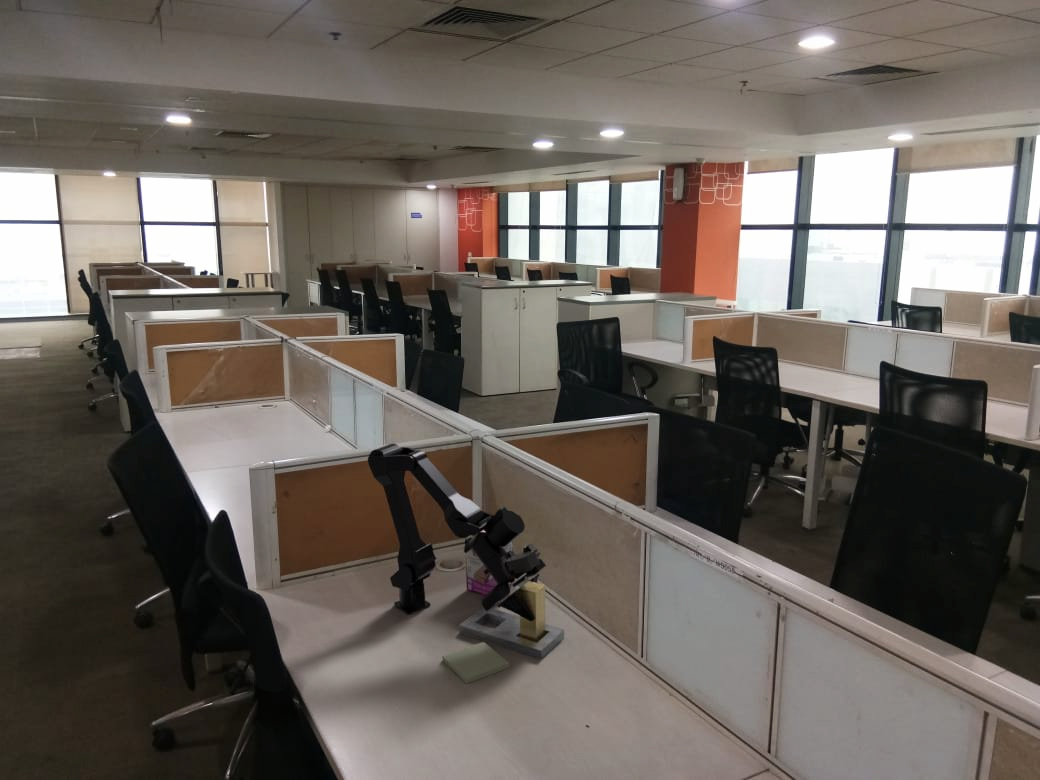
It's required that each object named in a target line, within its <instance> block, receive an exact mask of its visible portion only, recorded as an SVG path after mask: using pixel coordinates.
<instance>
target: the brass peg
mask: <svg viewBox="0 0 1040 780" xmlns="http://www.w3.org/2000/svg"><path fill="white" fill-rule="evenodd" d="M519 588H520V587H519ZM520 589H521V597H522V599H523V600H524V602H525V603H526V605H527V606H528V608H529V609H530V611H531V612H532V614H533V616H534V618H535V619H534V620H533V621H529V620H527V619H525V618H523V617H522V616H520V615H519V616H520V638H524V639H527V640H530V641H533V642H537V643H538V642H539V641H540V640H541V639H542V638H543V637H544V636H545V624H546V584H543V583H538V582H537V583H535V582H531V581H528V582H527V583H526V584H524V585H523V586H522V587H521V588H520Z"/></svg>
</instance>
